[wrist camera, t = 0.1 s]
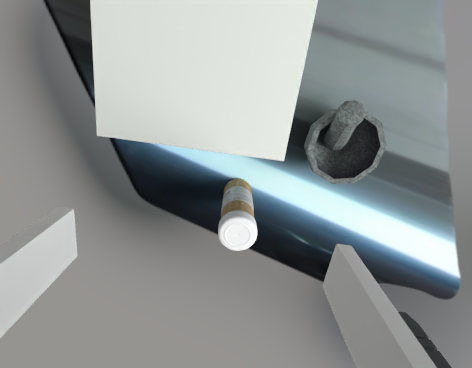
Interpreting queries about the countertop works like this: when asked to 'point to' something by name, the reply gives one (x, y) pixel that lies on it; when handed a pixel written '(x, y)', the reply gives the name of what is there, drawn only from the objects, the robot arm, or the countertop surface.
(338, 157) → the mortar and pestle
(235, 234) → the sprinkles bottle
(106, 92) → the cabinet
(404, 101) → the countertop surface
